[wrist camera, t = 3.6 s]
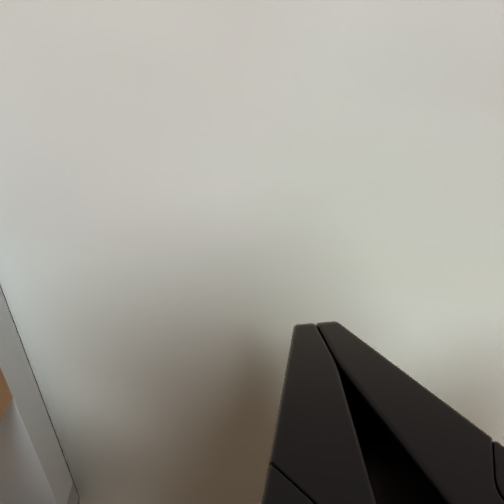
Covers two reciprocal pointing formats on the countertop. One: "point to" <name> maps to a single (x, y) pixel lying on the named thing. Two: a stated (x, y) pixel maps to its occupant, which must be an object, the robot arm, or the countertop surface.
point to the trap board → (28, 432)
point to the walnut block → (4, 395)
